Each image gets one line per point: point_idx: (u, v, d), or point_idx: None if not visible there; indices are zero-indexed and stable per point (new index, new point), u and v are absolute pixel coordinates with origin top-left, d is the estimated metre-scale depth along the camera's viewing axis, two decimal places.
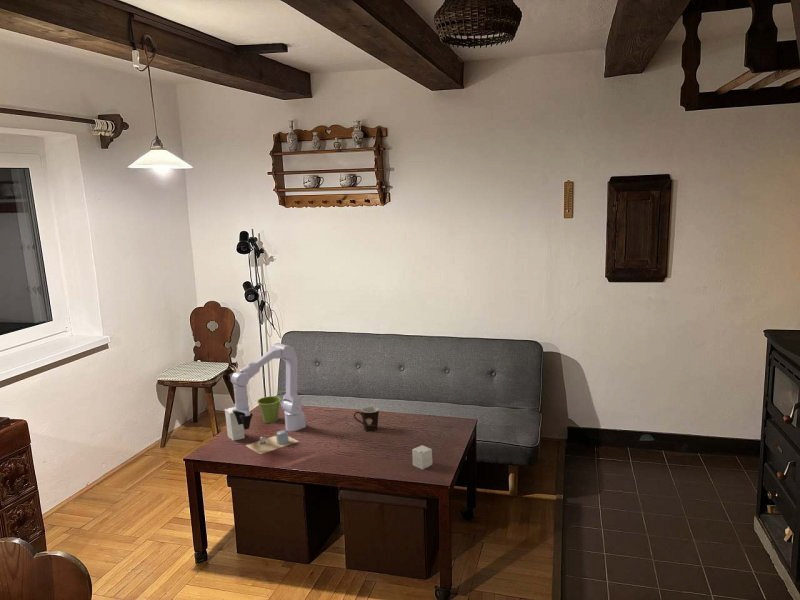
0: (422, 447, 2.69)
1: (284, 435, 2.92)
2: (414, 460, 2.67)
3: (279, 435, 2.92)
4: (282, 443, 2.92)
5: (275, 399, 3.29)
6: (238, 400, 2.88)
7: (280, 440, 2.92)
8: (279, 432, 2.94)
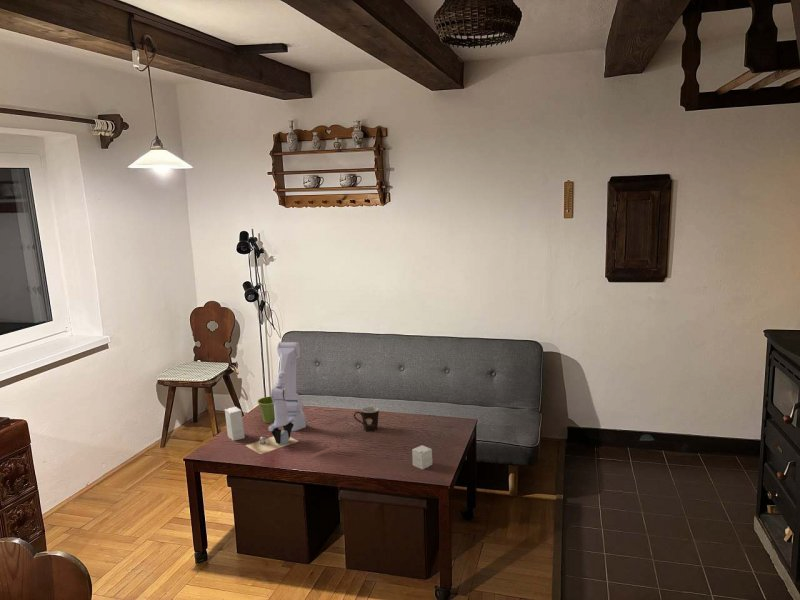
0: (422, 447, 2.69)
1: (284, 435, 2.92)
2: (414, 460, 2.67)
3: None
4: (282, 443, 2.92)
5: None
6: None
7: (280, 440, 2.92)
8: None
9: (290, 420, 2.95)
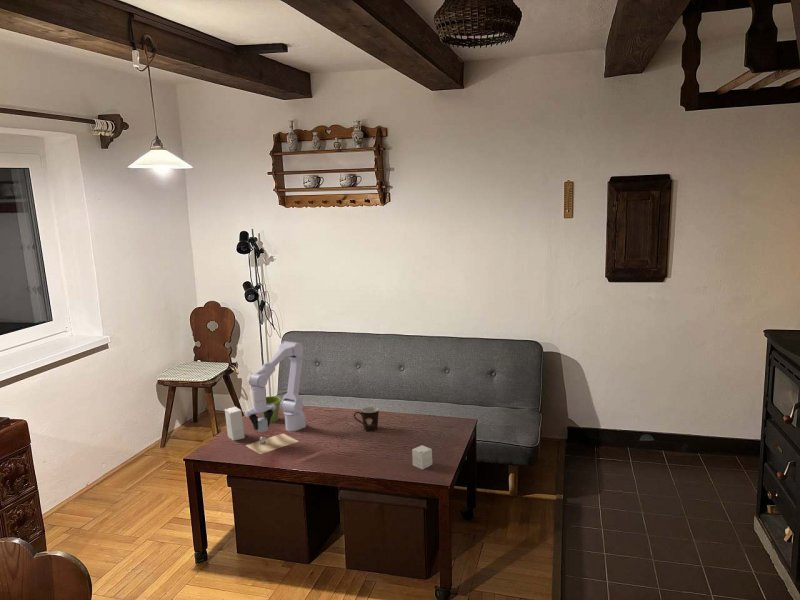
0: (422, 447, 2.69)
1: (262, 422, 2.90)
2: (414, 460, 2.67)
3: None
4: (260, 430, 2.91)
5: (275, 399, 3.29)
6: None
7: (258, 427, 2.91)
8: (258, 419, 2.93)
9: (269, 407, 2.93)
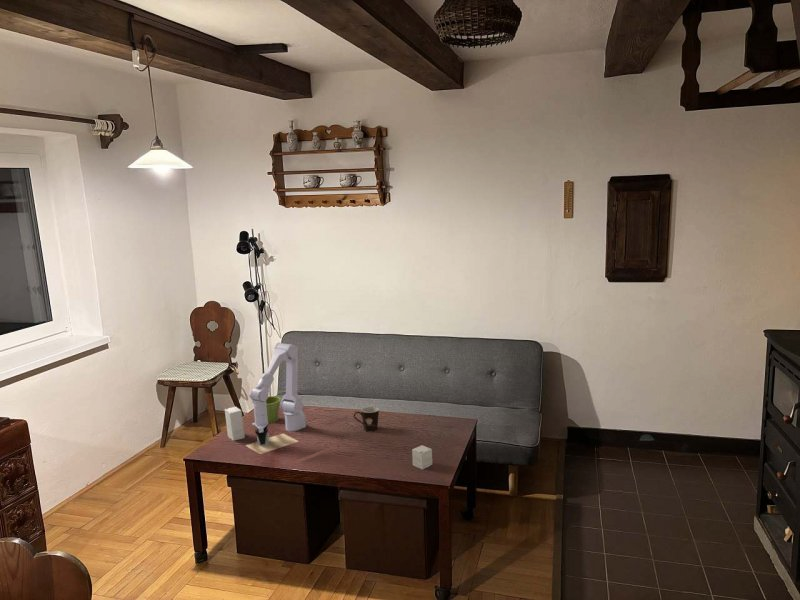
0: (422, 447, 2.69)
1: (268, 434, 2.94)
2: (414, 460, 2.67)
3: None
4: (267, 443, 2.93)
5: (275, 399, 3.29)
6: (256, 415, 2.90)
7: (265, 441, 2.92)
8: None
9: None
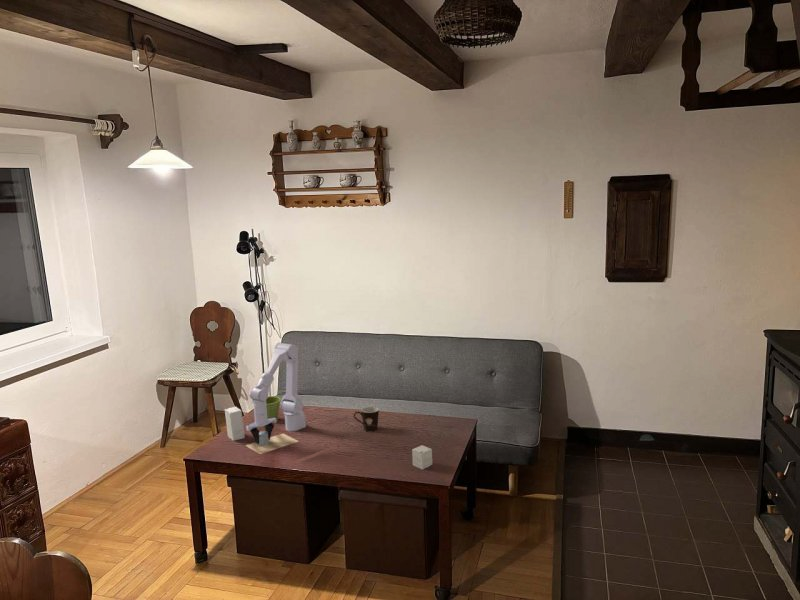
0: (422, 447, 2.69)
1: (267, 434, 2.94)
2: (414, 460, 2.67)
3: (264, 436, 2.92)
4: (266, 443, 2.93)
5: (275, 399, 3.29)
6: None
7: (264, 441, 2.92)
8: (260, 434, 2.93)
9: (270, 421, 2.94)
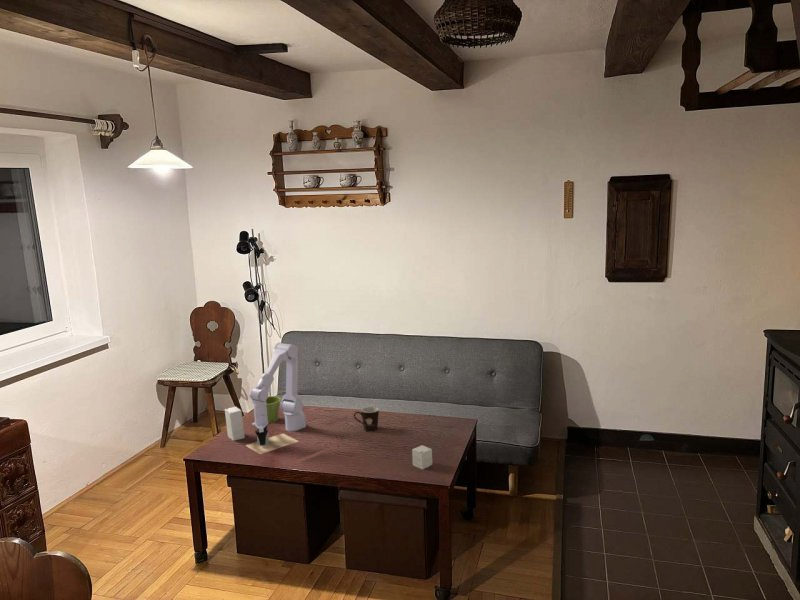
0: (422, 447, 2.69)
1: None
2: (414, 460, 2.67)
3: (267, 434, 2.94)
4: (268, 441, 2.96)
5: (275, 399, 3.29)
6: (256, 415, 2.90)
7: (268, 439, 2.94)
8: None
9: None
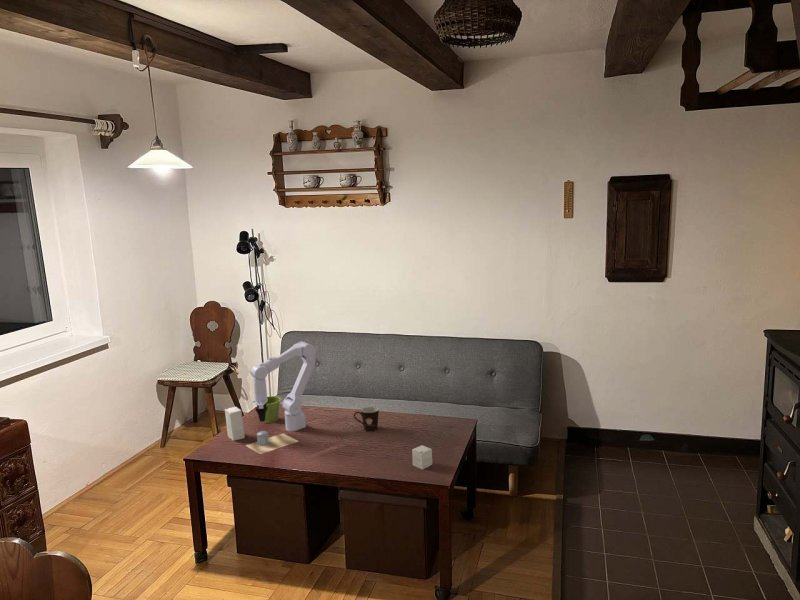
0: (422, 447, 2.69)
1: None
2: (414, 460, 2.67)
3: (267, 434, 2.94)
4: (268, 441, 2.96)
5: (275, 399, 3.29)
6: (255, 392, 2.98)
7: (268, 439, 2.94)
8: (262, 434, 2.93)
9: None
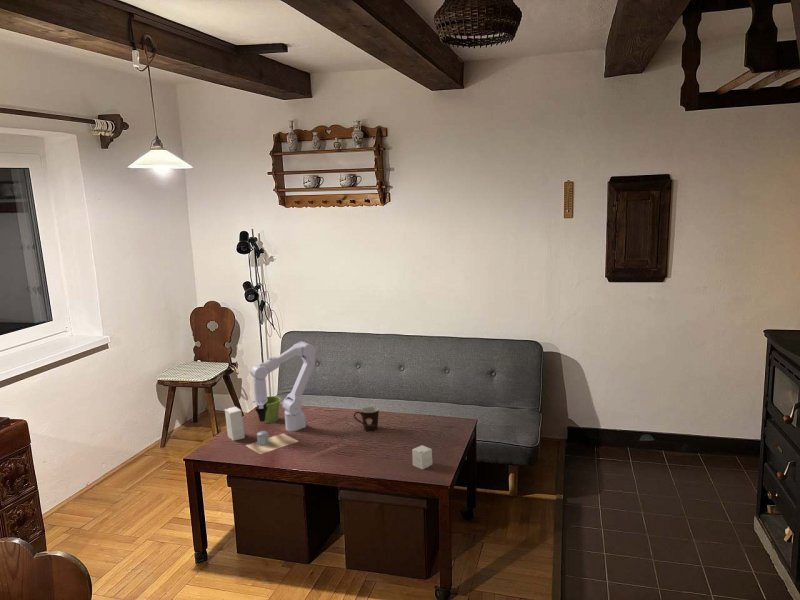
0: (422, 447, 2.69)
1: None
2: (414, 460, 2.67)
3: (267, 434, 2.94)
4: (268, 441, 2.96)
5: (275, 399, 3.29)
6: (255, 392, 2.98)
7: (268, 439, 2.94)
8: (262, 434, 2.93)
9: None
